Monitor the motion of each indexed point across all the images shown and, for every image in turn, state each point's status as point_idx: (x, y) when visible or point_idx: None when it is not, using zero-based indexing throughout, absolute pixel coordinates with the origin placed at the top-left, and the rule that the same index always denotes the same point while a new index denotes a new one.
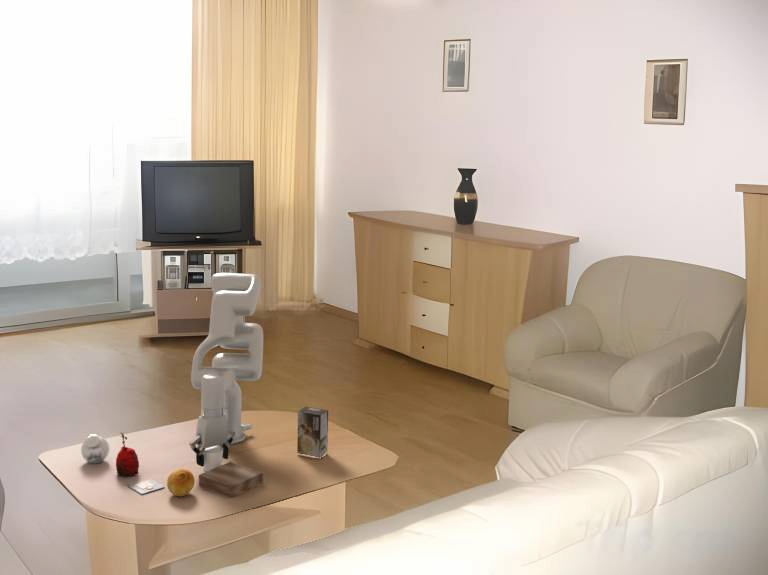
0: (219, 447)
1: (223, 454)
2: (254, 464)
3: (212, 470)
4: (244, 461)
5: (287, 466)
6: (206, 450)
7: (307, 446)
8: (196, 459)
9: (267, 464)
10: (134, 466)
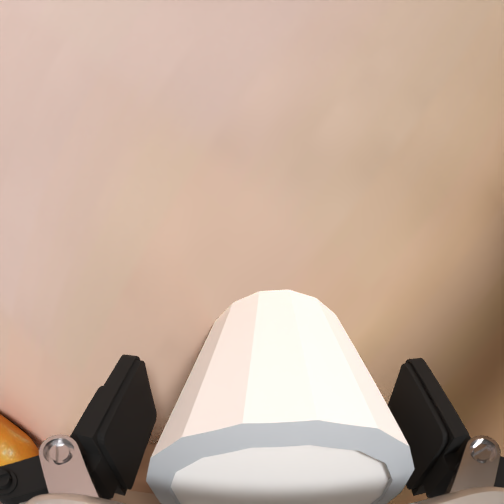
0: (370, 496)
1: (403, 413)
2: (472, 413)
3: (154, 498)
4: (488, 362)
5: None
6: (188, 492)
7: None
8: (91, 405)
9: (489, 430)
10: None
